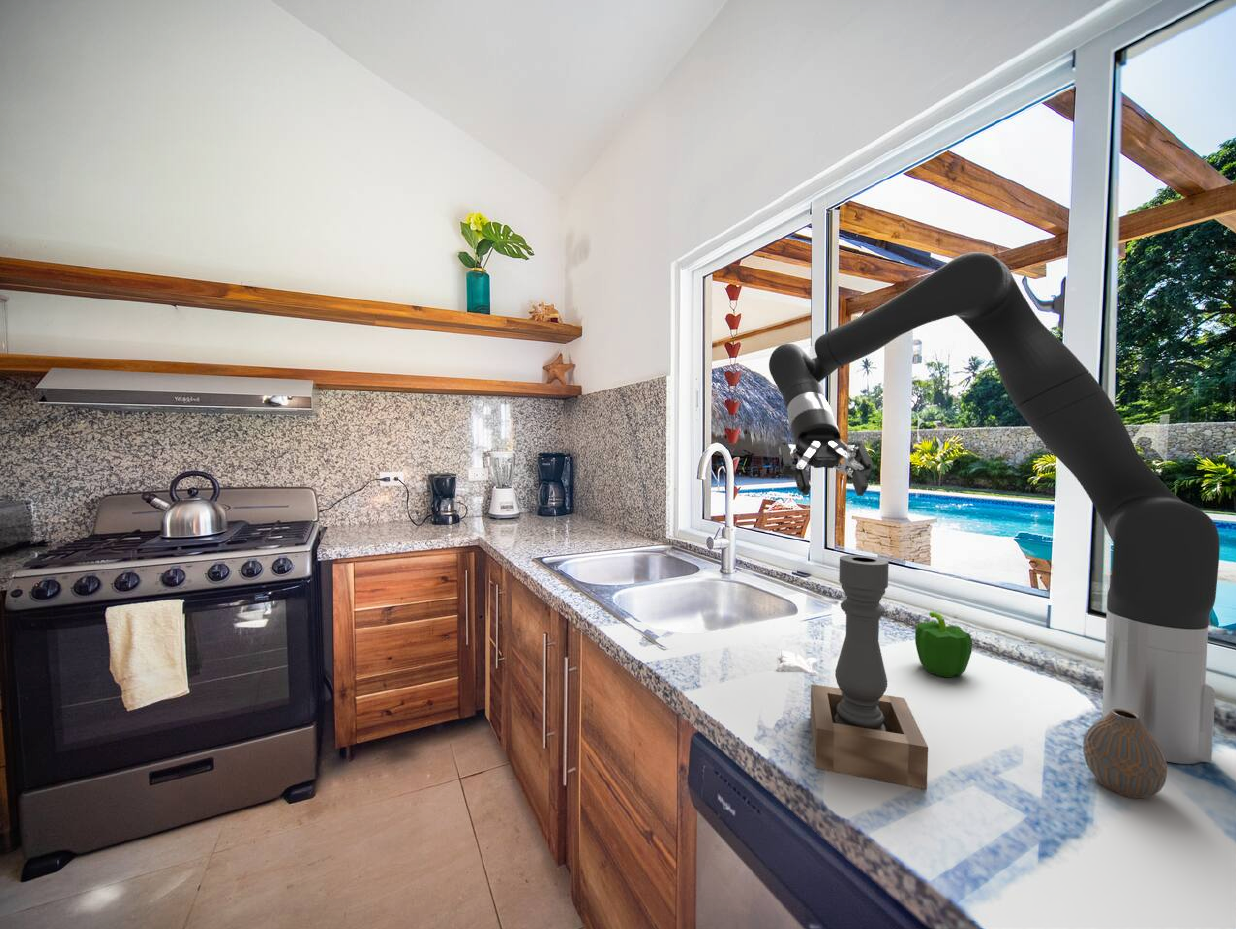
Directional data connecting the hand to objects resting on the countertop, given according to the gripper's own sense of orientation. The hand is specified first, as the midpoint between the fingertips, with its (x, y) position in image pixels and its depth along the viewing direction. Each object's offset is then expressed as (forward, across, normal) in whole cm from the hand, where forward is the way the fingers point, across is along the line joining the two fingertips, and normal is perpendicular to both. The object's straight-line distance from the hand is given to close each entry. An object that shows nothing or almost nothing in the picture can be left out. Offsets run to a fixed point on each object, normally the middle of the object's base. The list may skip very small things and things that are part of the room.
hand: (834, 492), depth 79 cm
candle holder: (+33, -2, +13) cm, 36 cm away
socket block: (+33, -1, +12) cm, 36 cm away
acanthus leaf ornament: (+16, -2, +31) cm, 35 cm away
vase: (+37, +26, +9) cm, 47 cm away
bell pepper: (+16, +23, +30) cm, 41 cm away
